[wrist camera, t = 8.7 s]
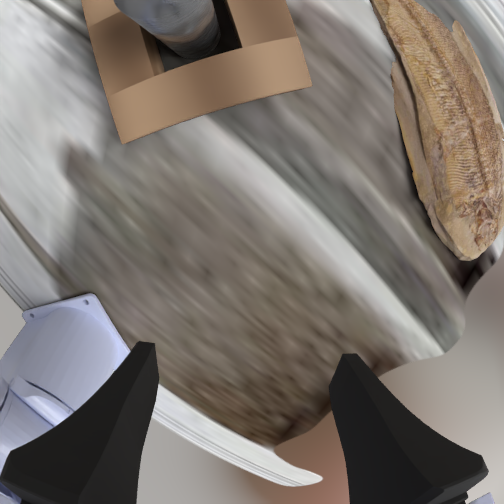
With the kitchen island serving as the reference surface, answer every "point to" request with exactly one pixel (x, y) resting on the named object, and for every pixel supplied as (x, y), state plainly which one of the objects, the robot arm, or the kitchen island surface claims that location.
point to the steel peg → (177, 23)
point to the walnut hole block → (192, 66)
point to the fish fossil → (447, 126)
